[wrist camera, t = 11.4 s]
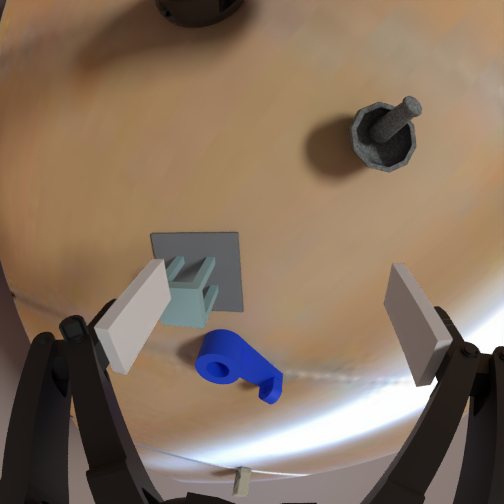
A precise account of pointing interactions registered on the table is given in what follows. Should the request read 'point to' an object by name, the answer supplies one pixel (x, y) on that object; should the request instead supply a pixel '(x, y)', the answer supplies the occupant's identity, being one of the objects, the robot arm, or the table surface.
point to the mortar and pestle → (385, 134)
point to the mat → (195, 253)
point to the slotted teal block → (189, 296)
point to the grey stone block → (241, 482)
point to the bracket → (237, 364)
